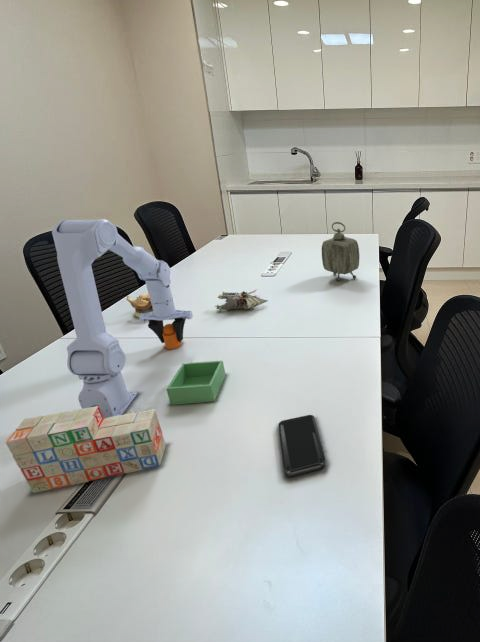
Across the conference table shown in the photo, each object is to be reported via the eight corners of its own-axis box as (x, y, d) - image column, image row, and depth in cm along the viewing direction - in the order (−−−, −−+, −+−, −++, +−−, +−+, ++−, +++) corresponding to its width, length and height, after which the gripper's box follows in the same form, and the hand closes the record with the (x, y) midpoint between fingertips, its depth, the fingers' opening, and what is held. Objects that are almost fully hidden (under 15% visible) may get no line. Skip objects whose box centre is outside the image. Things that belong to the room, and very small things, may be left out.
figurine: (235, 283, 153) (274, 286, 150) (237, 297, 155) (276, 300, 152) (205, 300, 135) (249, 303, 132) (207, 316, 137) (251, 319, 134)
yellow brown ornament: (160, 317, 138) (154, 295, 135) (128, 322, 135) (122, 300, 132) (162, 304, 148) (157, 284, 145) (133, 309, 145) (127, 288, 142)
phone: (284, 474, 71) (278, 421, 84) (285, 478, 72) (278, 425, 85) (326, 463, 73) (314, 413, 86) (327, 468, 74) (314, 417, 87)
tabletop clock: (360, 278, 170) (358, 221, 160) (348, 285, 163) (345, 226, 153) (334, 273, 178) (330, 218, 167) (321, 279, 171) (317, 222, 160)
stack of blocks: (166, 444, 80) (152, 396, 75) (160, 467, 75) (143, 416, 70) (47, 467, 75) (23, 417, 70) (31, 494, 70) (3, 441, 65)
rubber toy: (178, 348, 117) (173, 327, 114) (163, 349, 117) (157, 328, 114) (183, 341, 121) (178, 320, 118) (169, 342, 121) (163, 321, 118)
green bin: (214, 401, 93) (210, 385, 91) (170, 404, 92) (166, 389, 91) (225, 375, 103) (222, 360, 102) (186, 378, 103) (182, 363, 101)
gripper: (191, 293, 117) (200, 333, 123) (142, 296, 116) (153, 336, 121) (184, 302, 111) (193, 344, 116) (131, 305, 110) (143, 347, 115)
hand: (172, 340), depth 118 cm, fingers closed on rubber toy, 4 cm apart
